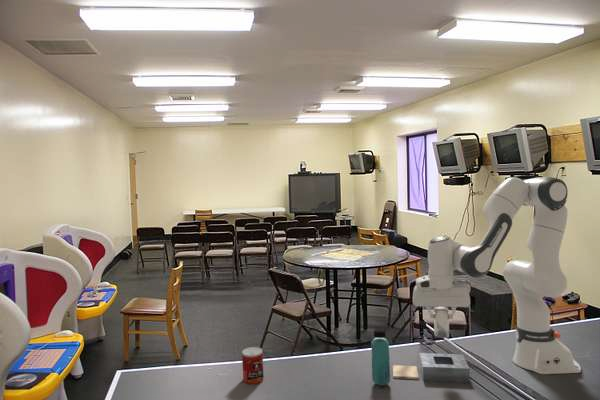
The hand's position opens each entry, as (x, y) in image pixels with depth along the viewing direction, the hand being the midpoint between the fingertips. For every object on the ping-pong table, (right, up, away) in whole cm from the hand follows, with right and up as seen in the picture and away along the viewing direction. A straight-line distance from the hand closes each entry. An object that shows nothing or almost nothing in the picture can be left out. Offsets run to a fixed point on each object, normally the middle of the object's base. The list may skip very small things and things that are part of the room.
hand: (441, 317), depth 160 cm
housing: (+1, -21, +1) cm, 21 cm away
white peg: (0, -7, 0) cm, 7 cm away
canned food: (-70, -24, +2) cm, 74 cm away
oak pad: (-13, -22, +3) cm, 25 cm away
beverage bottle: (-23, -23, -6) cm, 33 cm away
